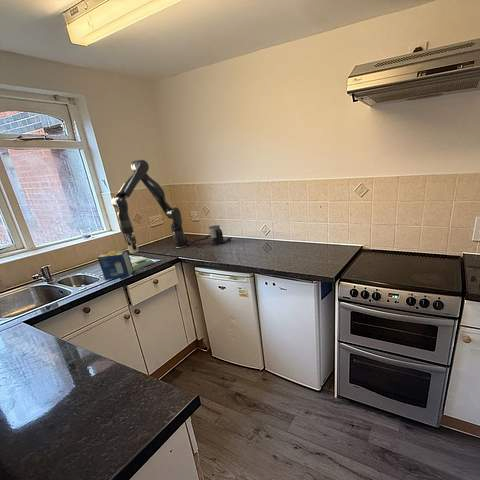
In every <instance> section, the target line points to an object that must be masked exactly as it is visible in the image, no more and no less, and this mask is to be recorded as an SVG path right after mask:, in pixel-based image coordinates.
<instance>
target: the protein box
mask: <svg viewBox="0 0 480 480" xmlns="http://www.w3.org/2000/svg"><path fill="white" fill-rule="evenodd" d="M96 258H97V260H98V263H99V266H100V269H101V271H102V275H103V279H104V280H112V279H119V278H127V277H129V276H131V274H133V272H135V271H134V270H135V269H133V267H132V264H131V258H130V254H129V250H128V249H123V250H114V251H106V252H103V253H102V254H100V255H98V256H97V257H96Z"/></svg>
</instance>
